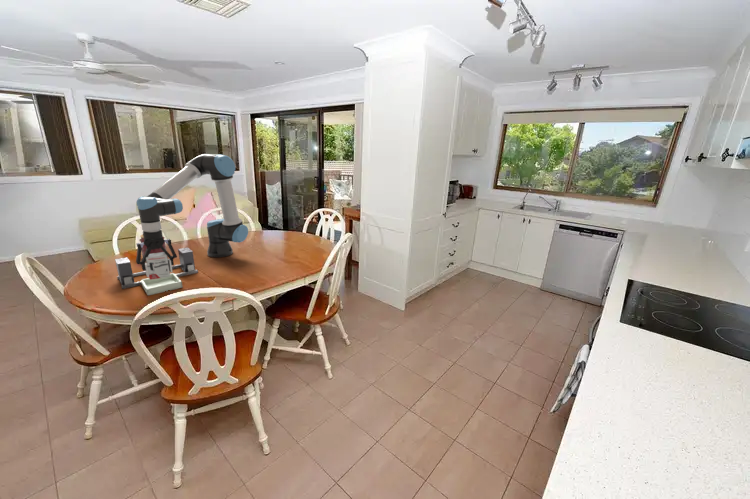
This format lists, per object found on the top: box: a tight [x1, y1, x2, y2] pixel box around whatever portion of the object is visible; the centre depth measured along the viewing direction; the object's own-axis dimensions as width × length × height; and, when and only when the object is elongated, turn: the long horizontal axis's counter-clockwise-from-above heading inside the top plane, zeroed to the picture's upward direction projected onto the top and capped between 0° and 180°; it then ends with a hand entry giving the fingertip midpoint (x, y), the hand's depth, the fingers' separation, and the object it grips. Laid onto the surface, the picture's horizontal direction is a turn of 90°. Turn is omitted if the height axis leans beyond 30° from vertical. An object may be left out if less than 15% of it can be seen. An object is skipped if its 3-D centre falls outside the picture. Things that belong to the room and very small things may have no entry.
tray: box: [140, 272, 183, 296], centre depth 156 cm, size 15×15×3 cm
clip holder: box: [114, 247, 199, 290], centre depth 166 cm, size 34×15×12 cm, turn 135°
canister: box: [138, 233, 167, 257], centre depth 193 cm, size 13×13×18 cm
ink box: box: [145, 252, 171, 280], centre depth 153 cm, size 8×5×12 cm, turn 123°
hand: (159, 273), depth 154 cm, fingers closed on ink box, 9 cm apart
